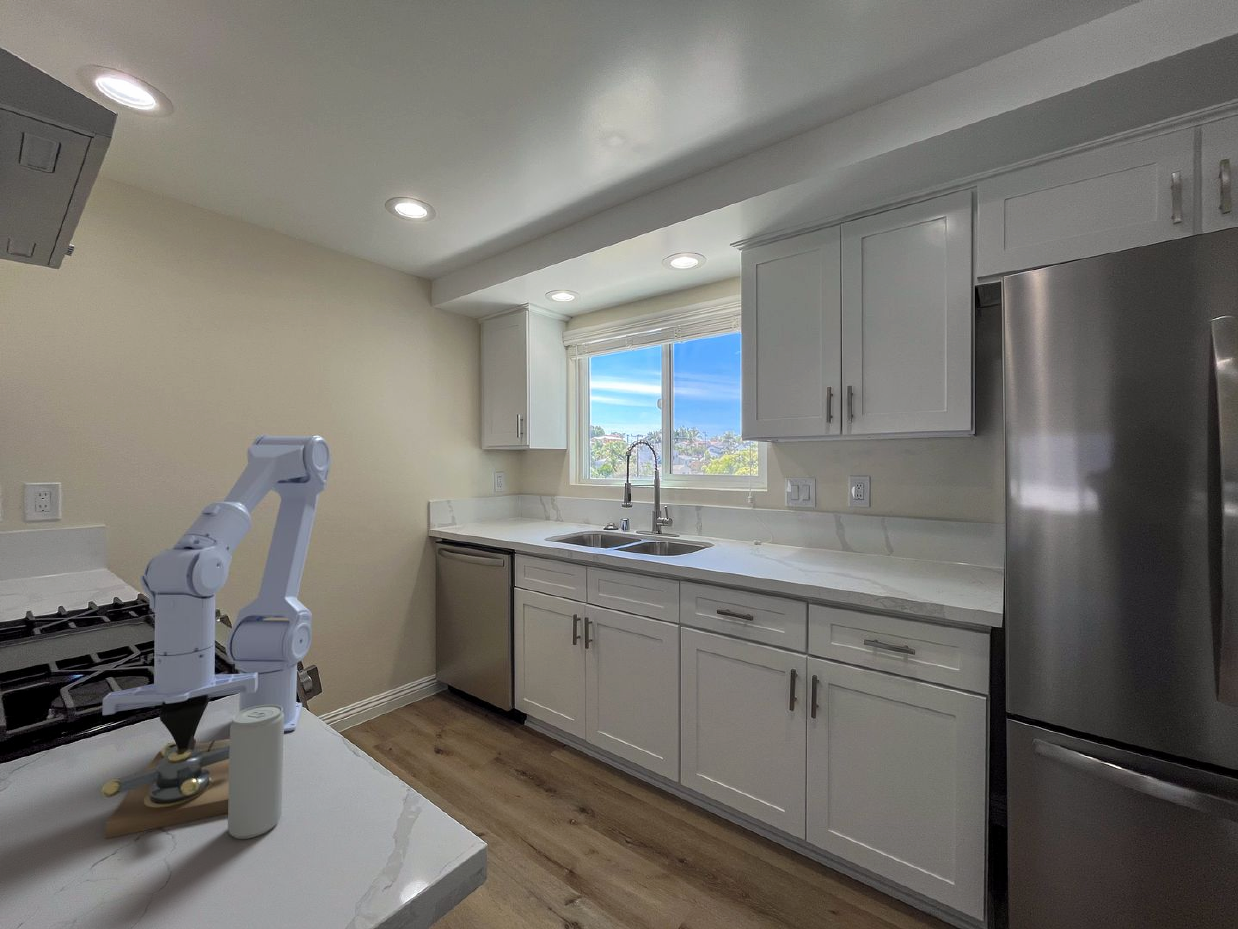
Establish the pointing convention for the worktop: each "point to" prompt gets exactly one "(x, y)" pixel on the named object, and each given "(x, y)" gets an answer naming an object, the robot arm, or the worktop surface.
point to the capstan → (171, 775)
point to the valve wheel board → (148, 815)
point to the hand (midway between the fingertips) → (183, 761)
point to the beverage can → (255, 771)
